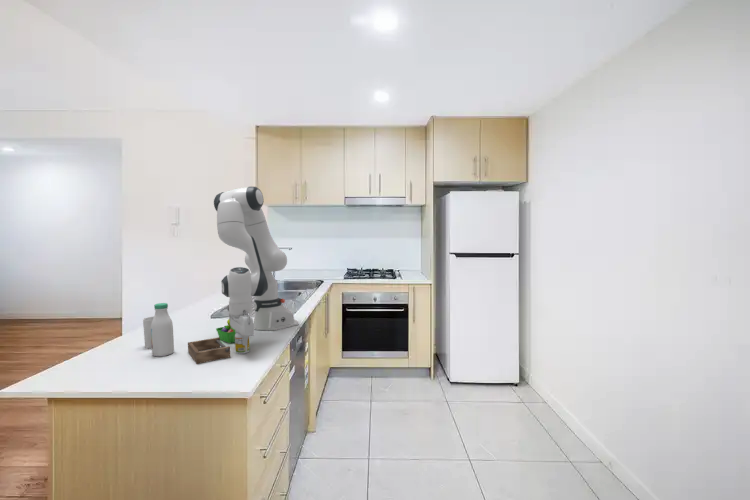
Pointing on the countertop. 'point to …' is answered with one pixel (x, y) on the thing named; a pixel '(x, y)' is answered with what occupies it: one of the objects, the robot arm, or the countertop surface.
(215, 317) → the countertop surface
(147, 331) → the mug
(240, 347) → the supplement bottle
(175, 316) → the countertop surface
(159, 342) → the milk bottle
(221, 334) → the fruit basket
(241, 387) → the countertop surface
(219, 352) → the wooden bar rack
